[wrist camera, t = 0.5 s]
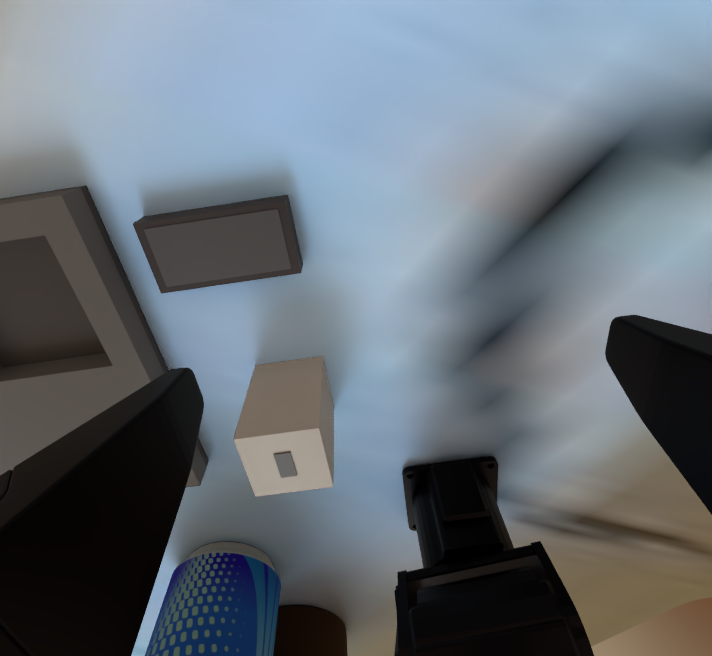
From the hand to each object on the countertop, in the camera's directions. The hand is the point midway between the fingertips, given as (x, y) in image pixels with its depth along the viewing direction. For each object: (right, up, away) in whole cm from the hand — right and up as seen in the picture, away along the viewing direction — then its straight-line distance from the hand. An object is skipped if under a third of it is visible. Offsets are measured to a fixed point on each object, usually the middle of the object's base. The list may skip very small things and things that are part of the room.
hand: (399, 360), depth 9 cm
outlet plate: (-19, -1, +15) cm, 24 cm away
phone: (-7, +5, +12) cm, 15 cm away
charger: (-5, -3, +17) cm, 17 cm away
